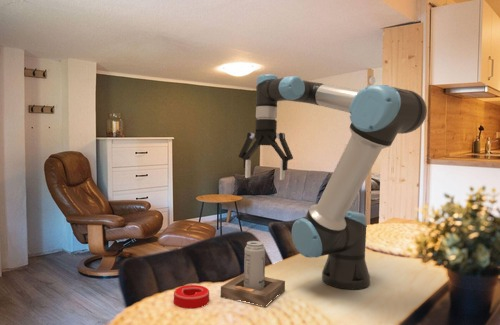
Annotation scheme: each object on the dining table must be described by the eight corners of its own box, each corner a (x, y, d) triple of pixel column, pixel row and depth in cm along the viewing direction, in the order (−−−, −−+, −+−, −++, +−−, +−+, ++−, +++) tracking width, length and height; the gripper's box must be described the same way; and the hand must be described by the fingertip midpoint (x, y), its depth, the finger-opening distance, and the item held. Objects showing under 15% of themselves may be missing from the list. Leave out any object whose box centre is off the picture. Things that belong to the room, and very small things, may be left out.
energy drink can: (264, 298, 108) (265, 245, 108) (243, 297, 108) (244, 245, 108) (263, 290, 114) (265, 240, 114) (243, 289, 114) (245, 240, 114)
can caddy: (284, 290, 114) (285, 279, 114) (265, 307, 102) (265, 295, 102) (243, 282, 121) (243, 271, 120) (220, 297, 108) (220, 285, 108)
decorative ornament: (180, 294, 110) (181, 283, 110) (213, 297, 109) (213, 286, 109) (168, 307, 101) (168, 295, 101) (203, 311, 99) (203, 299, 99)
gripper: (303, 119, 133) (301, 180, 134) (240, 120, 145) (239, 176, 145) (295, 117, 127) (293, 181, 127) (230, 118, 138) (229, 177, 139)
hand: (264, 178), depth 136 cm, fingers open, 13 cm apart
